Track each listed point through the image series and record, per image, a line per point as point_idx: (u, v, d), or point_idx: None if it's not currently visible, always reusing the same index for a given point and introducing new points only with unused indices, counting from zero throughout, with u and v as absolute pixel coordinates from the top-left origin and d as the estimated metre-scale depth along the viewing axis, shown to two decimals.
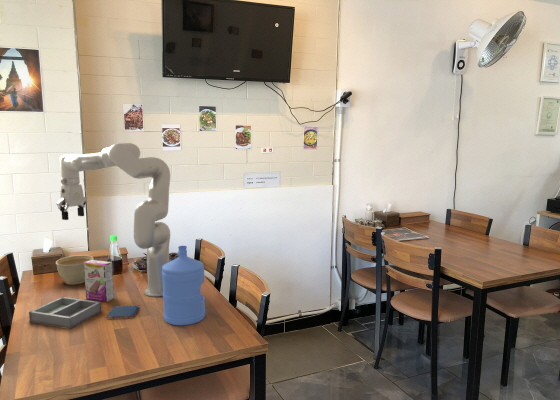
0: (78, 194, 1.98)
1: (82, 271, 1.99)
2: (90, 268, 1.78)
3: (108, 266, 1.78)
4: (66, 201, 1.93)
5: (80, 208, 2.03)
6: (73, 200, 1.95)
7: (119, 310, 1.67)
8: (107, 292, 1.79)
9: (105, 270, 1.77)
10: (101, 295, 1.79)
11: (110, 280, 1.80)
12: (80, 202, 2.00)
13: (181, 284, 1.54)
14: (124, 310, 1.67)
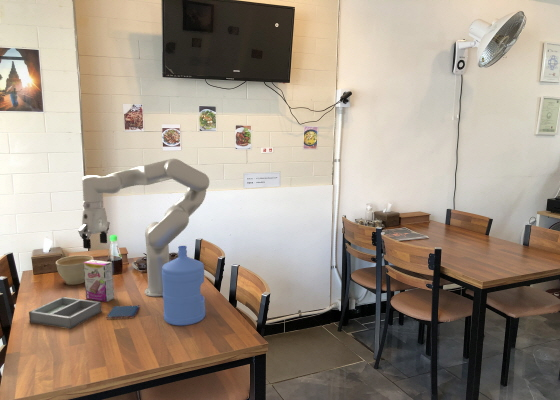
0: (102, 219, 1.78)
1: (82, 271, 1.99)
2: (90, 268, 1.78)
3: (108, 265, 1.78)
4: (89, 228, 1.72)
5: (103, 234, 1.82)
6: (96, 226, 1.75)
7: (119, 310, 1.67)
8: (107, 292, 1.79)
9: (105, 270, 1.77)
10: (101, 295, 1.79)
11: (110, 280, 1.80)
12: (103, 228, 1.79)
13: (181, 284, 1.54)
14: (124, 310, 1.67)
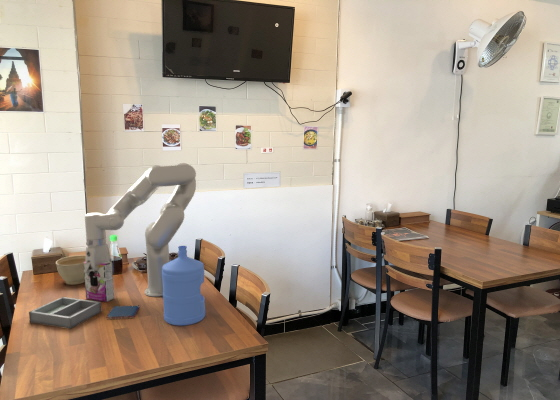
0: (105, 255, 1.80)
1: (82, 271, 1.99)
2: None
3: (108, 265, 1.78)
4: (92, 265, 1.75)
5: None
6: (99, 263, 1.77)
7: (119, 310, 1.67)
8: (107, 292, 1.79)
9: (105, 270, 1.77)
10: (101, 295, 1.79)
11: (110, 280, 1.80)
12: None
13: (181, 284, 1.54)
14: (124, 310, 1.67)
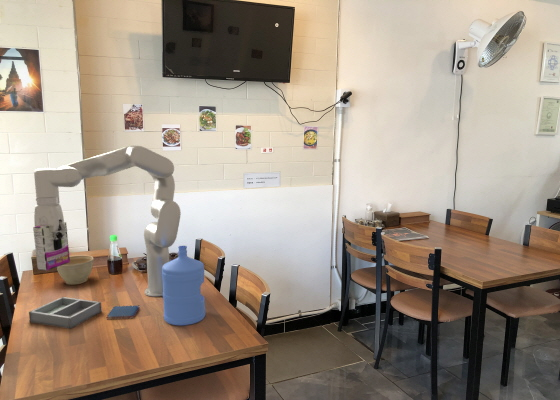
0: (46, 219, 1.57)
1: (82, 271, 1.99)
2: None
3: (38, 230, 1.55)
4: None
5: None
6: (39, 224, 1.58)
7: (119, 310, 1.67)
8: (37, 259, 1.58)
9: (35, 233, 1.56)
10: None
11: (41, 247, 1.56)
12: None
13: (181, 284, 1.54)
14: (124, 310, 1.67)
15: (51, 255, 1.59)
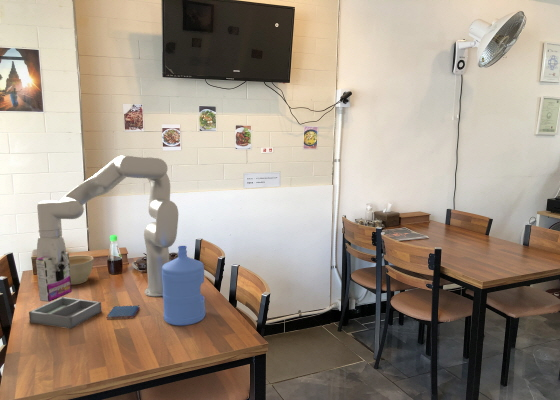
0: (48, 251, 1.59)
1: (82, 271, 1.99)
2: None
3: (40, 262, 1.57)
4: None
5: None
6: (42, 256, 1.60)
7: (119, 310, 1.67)
8: (40, 290, 1.59)
9: (37, 265, 1.58)
10: None
11: (43, 279, 1.58)
12: None
13: (181, 284, 1.53)
14: (124, 310, 1.67)
15: (53, 286, 1.60)
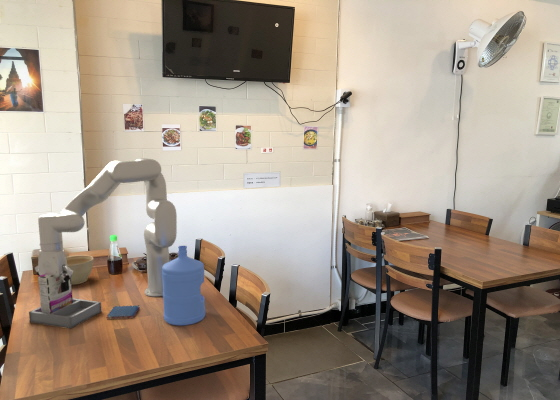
0: (50, 264, 1.59)
1: (82, 271, 1.99)
2: None
3: (43, 279, 1.58)
4: None
5: None
6: (43, 269, 1.61)
7: (119, 310, 1.67)
8: (42, 307, 1.60)
9: (39, 282, 1.59)
10: None
11: (46, 296, 1.59)
12: (52, 274, 1.60)
13: (181, 284, 1.54)
14: (124, 310, 1.67)
15: (55, 303, 1.61)
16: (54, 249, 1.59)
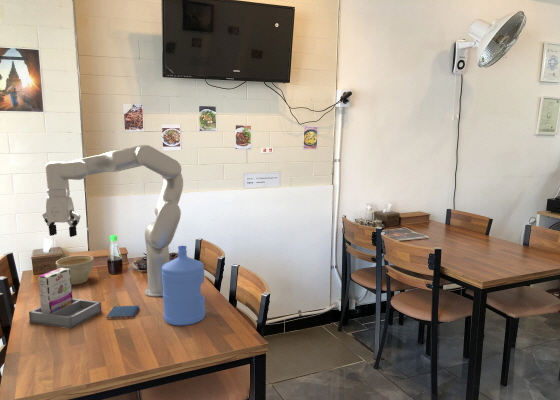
0: (58, 209, 1.65)
1: (82, 271, 1.99)
2: None
3: (42, 279, 1.58)
4: None
5: None
6: (51, 215, 1.67)
7: (119, 310, 1.67)
8: (42, 307, 1.60)
9: (39, 282, 1.59)
10: None
11: (45, 296, 1.59)
12: (60, 219, 1.66)
13: (181, 284, 1.53)
14: (124, 310, 1.67)
15: (55, 303, 1.61)
16: (62, 195, 1.65)
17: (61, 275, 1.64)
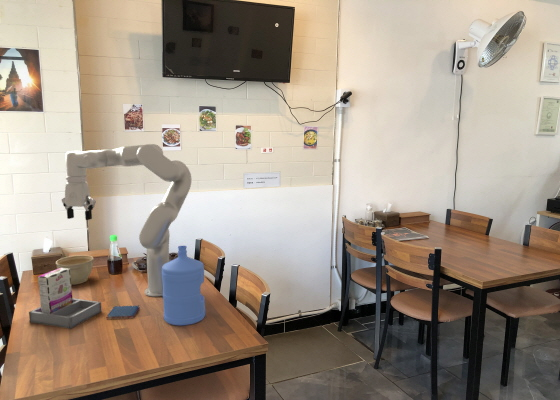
0: (75, 195, 1.81)
1: (82, 271, 1.99)
2: None
3: (42, 279, 1.58)
4: None
5: None
6: (69, 199, 1.83)
7: (119, 310, 1.67)
8: (42, 307, 1.60)
9: (39, 282, 1.59)
10: None
11: (45, 296, 1.59)
12: (77, 203, 1.82)
13: (181, 284, 1.54)
14: (124, 310, 1.67)
15: (55, 303, 1.61)
16: (79, 181, 1.81)
17: (61, 275, 1.64)
